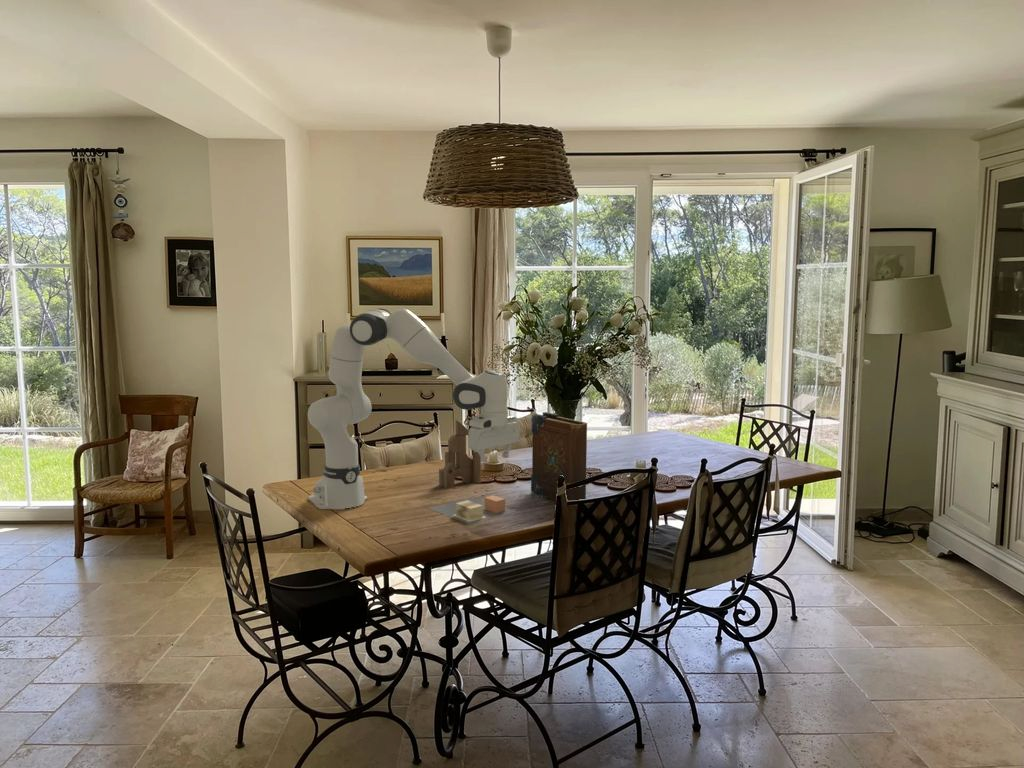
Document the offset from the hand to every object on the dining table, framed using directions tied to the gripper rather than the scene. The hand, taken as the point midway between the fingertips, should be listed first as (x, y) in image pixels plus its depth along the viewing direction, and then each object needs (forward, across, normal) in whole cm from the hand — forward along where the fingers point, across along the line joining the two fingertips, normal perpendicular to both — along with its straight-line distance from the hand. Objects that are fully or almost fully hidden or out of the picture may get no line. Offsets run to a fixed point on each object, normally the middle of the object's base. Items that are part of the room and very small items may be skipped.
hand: (494, 459), depth 251 cm
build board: (+19, +6, -5) cm, 21 cm away
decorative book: (+19, -29, +2) cm, 35 cm away
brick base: (+17, +11, 0) cm, 21 cm away
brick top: (+17, 0, 0) cm, 17 cm away
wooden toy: (+19, -14, -37) cm, 44 cm away
